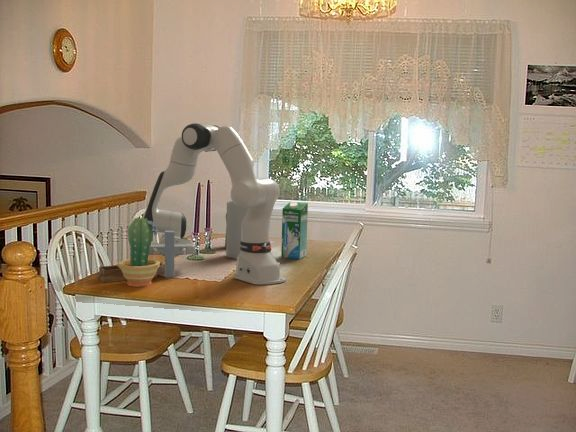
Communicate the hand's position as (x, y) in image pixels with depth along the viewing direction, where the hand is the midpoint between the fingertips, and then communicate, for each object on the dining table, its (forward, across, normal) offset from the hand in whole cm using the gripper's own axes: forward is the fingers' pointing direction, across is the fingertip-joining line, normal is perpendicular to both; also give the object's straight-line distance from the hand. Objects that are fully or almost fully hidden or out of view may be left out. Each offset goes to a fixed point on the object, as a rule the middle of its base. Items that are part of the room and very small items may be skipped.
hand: (169, 252), depth 261 cm
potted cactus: (+12, -11, +10) cm, 19 cm away
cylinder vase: (-38, +32, +10) cm, 50 cm away
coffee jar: (-61, +32, +10) cm, 70 cm away
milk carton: (-37, +57, +10) cm, 68 cm away
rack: (+2, -16, +9) cm, 19 cm away
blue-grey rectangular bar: (0, 0, +10) cm, 10 cm away
